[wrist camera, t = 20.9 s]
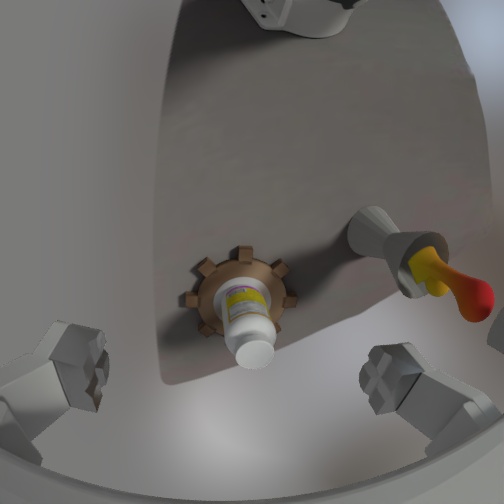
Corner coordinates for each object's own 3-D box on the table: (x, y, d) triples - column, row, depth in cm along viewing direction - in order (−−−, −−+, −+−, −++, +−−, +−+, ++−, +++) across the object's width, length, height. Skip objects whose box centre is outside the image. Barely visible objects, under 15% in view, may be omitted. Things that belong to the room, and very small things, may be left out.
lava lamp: (336, 226, 43) (517, 373, 11) (378, 194, 42) (574, 288, 10) (360, 266, 47) (504, 413, 14) (398, 236, 46) (557, 346, 13)
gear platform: (163, 296, 44) (162, 301, 42) (246, 221, 41) (248, 225, 40) (237, 356, 50) (238, 362, 48) (314, 297, 47) (318, 302, 46)
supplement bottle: (251, 324, 46) (265, 380, 34) (214, 311, 44) (217, 368, 32) (271, 291, 44) (292, 343, 32) (232, 275, 42) (241, 327, 30)
